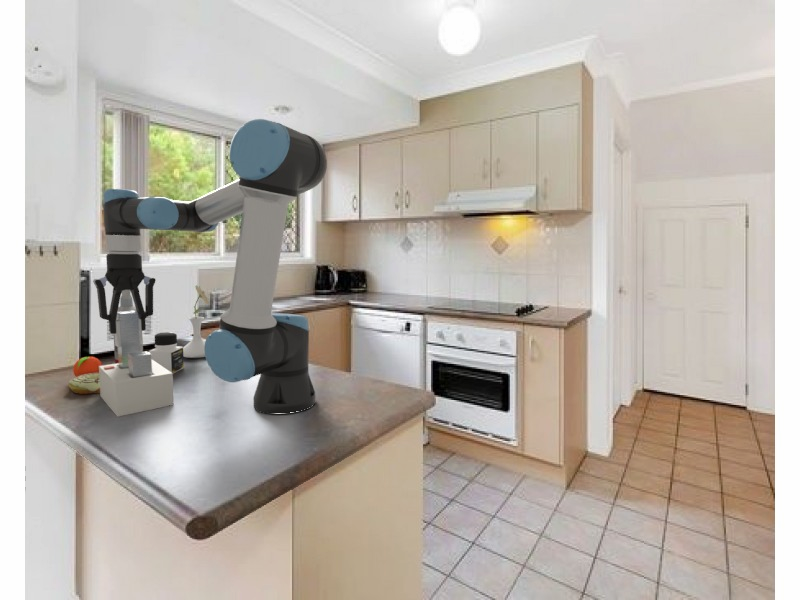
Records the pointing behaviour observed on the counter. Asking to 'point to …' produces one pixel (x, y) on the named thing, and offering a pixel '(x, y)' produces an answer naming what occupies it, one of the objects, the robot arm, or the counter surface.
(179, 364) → the medicine bottle
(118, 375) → the housing
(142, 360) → the grey square peg
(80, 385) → the decorated donut
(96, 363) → the clementine
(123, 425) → the counter surface
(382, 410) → the counter surface
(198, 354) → the flower in vase
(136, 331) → the upper square grey bar
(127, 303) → the spray bottle
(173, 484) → the counter surface
